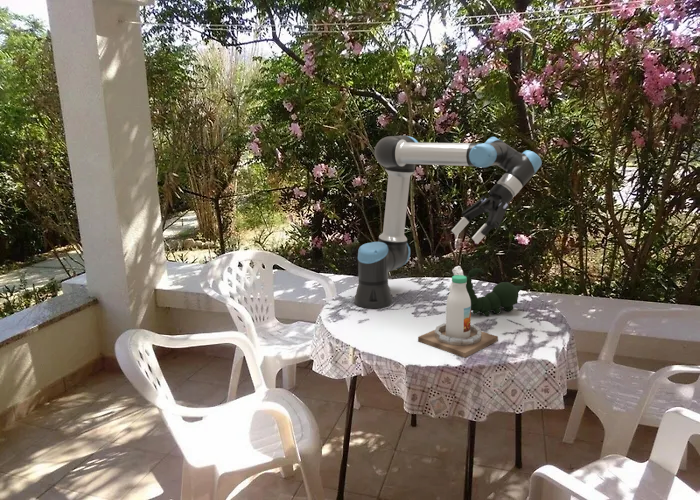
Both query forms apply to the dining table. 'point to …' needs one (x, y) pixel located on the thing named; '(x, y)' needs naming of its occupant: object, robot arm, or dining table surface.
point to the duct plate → (455, 349)
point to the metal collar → (458, 341)
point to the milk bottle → (458, 309)
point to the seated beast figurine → (456, 271)
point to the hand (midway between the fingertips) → (463, 237)
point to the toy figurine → (492, 296)
